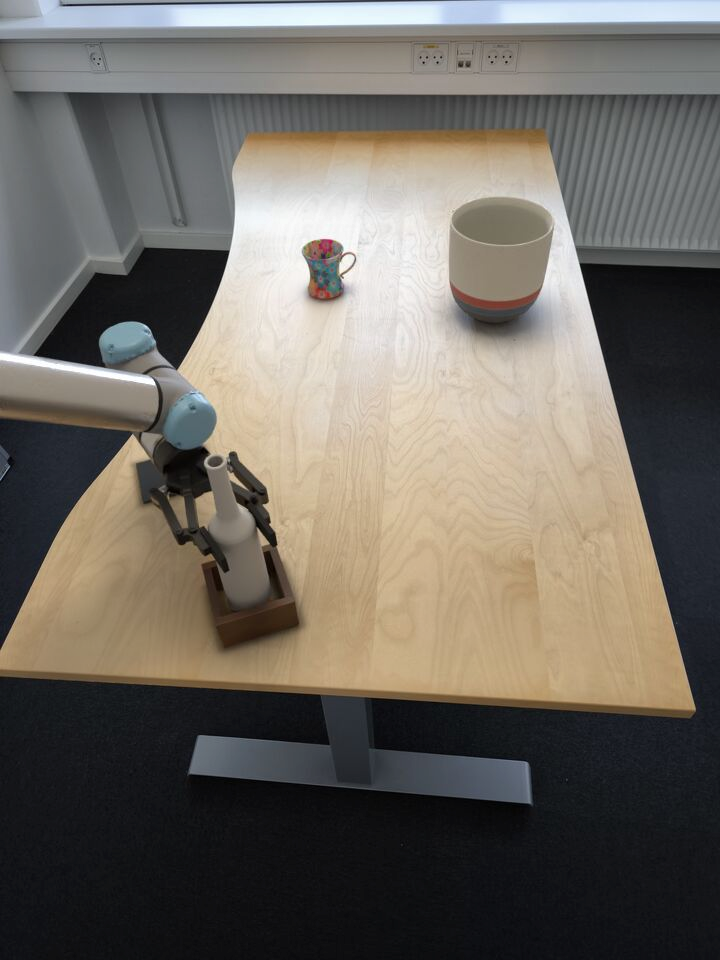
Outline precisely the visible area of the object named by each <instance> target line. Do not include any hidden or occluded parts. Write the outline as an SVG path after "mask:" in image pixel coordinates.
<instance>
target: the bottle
mask: <svg viewBox="0 0 720 960" xmlns="http://www.w3.org/2000/svg"><path fill="white" fill-rule="evenodd" d="M226 457H227V456H225V455H223V454H222V453H212V454H211V455H210V456H208V457H207V458H206V459H205V461H204V466H205V468H206V469H207V473H208V477H209V481H210V484H211V488H212V491H211V492H212V495H213V501H214V506H215V512H214V513H213V515H212V516H211V518H210V519H209V522H208V524H207V531H208V532H209V534H210V535H211V537H212V538H213V540H214V541H215V543H216V544H217V545H218V547H219V548H220V550H221V551H222V553H223V554H224V555H225V557H226V559H227V563H228V566H229V570H230V571H228V572H226V573H224V572H223V571H222V569H221V568H220V566H219V565H218V563H217V562H216V563H217V567H218V570H219V574H220V577H221V581H222V584H223V588H224V589H223V591H224V594H225V597H226V600H227V601H226V602H227V603H228V605H229V607H230V608H231V609H232V610H233V611H235V612H239V611H243V610H246V609H249V608H252V607H256V606H259V605H262V604H265V603H269V602H271V598H272V594H273V593H272V587H271V583H270V582H271V581H270V576H268V572H267V568H266V564H265V560H264V555H263V551H262V547H261V546H262V542H261V539H260V535H259V529H258V528H257V526H256V521H255V519H254V517H253V515H252V514H251V513H250V512H249V511H248V509H246V508H245V507H243V506H242V507H241V506H239V504H238V503H237V502H236V499H235V496H234V493H233V490H232V486H231V482H230V480H231V478H230V475H229V471H227V467H226V463H227V459H226Z"/></svg>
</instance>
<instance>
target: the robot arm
mask: <svg viewBox="0 0 720 960" xmlns="http://www.w3.org/2000/svg"><path fill="white" fill-rule="evenodd" d="M98 346H99V350H100V354H101V358H102V360H101V361H102V363H103V364H104V366H105V367H102V366H97V365H96V366H95V365H90V364H84V363H78V362H72V361H66V360H62V359H61V360H60V359H56V358H55V359H54V358H49V357H44V356H43V357H42V356H36V355H30V354H25V353H19V352H13V351H8V350H1V349H0V419H3V420H12V421H24V422H25V421H26V422H33V423H45V424H52V425H53V424H56V425H66V426H76V427H84V428H85V427H86V428H96V429H107V430H117V431H118V430H119V431H127V432H128V431H129V432H131V434H132V435H133V436H134V438H135V439H136V441H137V442H138V443H139V445H140V446H141V448H142V449H143V451H144V452H145V454H146V455H147V457H148V458H149V460H151V461H152V463H153V464H154V465H155V467H156V469H157V470H158V472H159V473H160V475H161V476H162V478H163V479H164V485H163V486H162V487H160V488H159V489H157V488H151V489H150V490H149V494H150V496H151V499H152V502H151V503H152V505H153V506H155V507H156V508H157V509H159V510H160V511H161V513H162V515H163V517H164V519H165V520H166V523H167V525H168V527H169V529H170V531H171V533H172V535H173V538H174V539H175V541H176V544H177V545H178V546H181V547H183V546H185V545H186V544H187V543H190V542H191V543H192V544H193V546H194V547H196V548H197V549H198V551H199V552H200V554H201V555H202V556H203V557H205V558H206V557H208V556H209V555H211V556H212V558H213V559H214V560H216V562H217V563H218V565H219V566H220V568H221V569H222V571H223V572H224V573H226V572H228V571H230V570H229V566H228V563H227V559H226V557H225V555H224V554H223V553H222V551H221V550H220V548H219V547H218V545H217V544H216V543H215V541H214V540H213V538H212V537H211V535H210V534H209V532H208V529H207V528H206V526H205V525H202V526H200V522H199V517H198V510H197V501H196V499H198V498H200V497H202V495H204V494H206V493H210V492H212V488H211V484H210V481H209V477H208V473H207V469H206V468H205V466H204V461H205V459H206V458H207V457H208V456H210V455H212V454H211V453H210V451H209V450H208V449H207V447H206V446H205V443H206V442H208V440H209V439H210V438H211V437H212V435H213V433H214V431H215V429H216V427H217V421H218V415H217V412H216V409H215V408H214V406H213V405H212V404H211V402H210V401H208V399H207V398H206V396H205V394H204V393H203V392H201V391H200V390H198V389H197V388H196V387H195V386H194V385H193V384H192V383H191V382H189V381H188V380H187V378H185V377H184V376H183V375H182V374H181V373H180V372H179V371H178V370H177V369H176V368H175V366H173V365H172V364H171V363H170V362H169V361H168V360H167V359H166V358H165V357H164V356H163V355H162V354H161V353H160V352H159V350H158V348H157V341H156V339H155V338H154V336H153V333H152V331H151V329H150V328H149V327H148V326H147V325H146V324H144V323H141V322H139V321H124V322H119V323H117V324H114V325H113V326H109V327H108V328H107V329H106V330H105V331H103V333H102V334H100V337H99V340H98ZM225 457H226V459H227V463H226V467H227V471H228V473H229V474H233V476H234V477H235V478H236V480H238V482H239V483H241V484H242V485H243V486H241V485H240V484H238V483H236V482H235V481H233V480H231V479H230V482H231V486H232V490H233V493H234V496H235V499H236V502H237V505H240V507H241V506H242V508H244V509H246V510H248V511H249V512H250V513H251V514H252V515H253V517H254V519H255V521H256V526H257V530H258V531H259V532H260V533H261V534H262V536H263V537H264V538H265V540H266V541H267V543H268V544H270V545H271V546H272V547H273V548H274V547H276V546H277V547H278V545H279V544H278V539H277V534H276V531H275V530H274V528H273V527H272V526H271V525H270V524H272V520H271V516H270V512H269V511H268V510H267V508H266V507H265V506H264V505H267V504H268V503H270V499H269V493H268V488H267V486H265V485H264V483H262V481H260V479H258V477H256V476H255V474H254V473H252V472H251V470H249V468H248V467H246V466H245V465H244V464H243V463H242V462H241V460H240V459H239V455H238V453H237V452H236V451H235V450H233V451H230V452H229V453H228V456H225ZM169 493H172V494H176V495H175V496H179V497H183V501H184V508H185V515H186V517H185V518H186V523H187V527H185V528H184V527H182V524H181V523H180V521H179V519H178V517H177V515H176V512H175V511H174V509H173V507H172V505H171V503H170V497H169V495H168V494H169Z"/></svg>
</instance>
